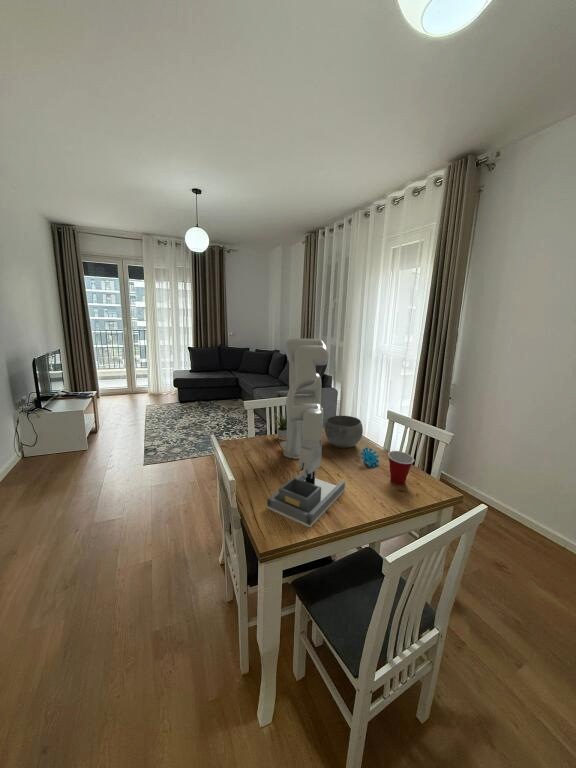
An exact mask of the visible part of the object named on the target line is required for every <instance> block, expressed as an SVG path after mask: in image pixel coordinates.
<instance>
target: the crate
mask: <svg viewBox="0 0 576 768" xmlns="http://www.w3.org/2000/svg"><path fill="white" fill-rule="evenodd" d="M278 491H279V501H281V502H283V503H286V504H288V505H290V506H293V507H295V508H297V509H300V510H302V511H304V512H307V513H310V512H311V511H312V510H313V509H314V508H315V507H316V506H317V505H318V504H319V503H320V502H321V487H319V486H317V485H314V484H311V483H309V482H306V481H303V480H300V479H298V478H296V477H295V476H294V477H293V478H291V479H289V481H286V483H284V484H283V485H282V486H281V487H279V488H278Z"/></svg>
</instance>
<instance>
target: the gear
mask: <svg viewBox="0 0 576 768" xmlns="http://www.w3.org/2000/svg"><path fill="white" fill-rule="evenodd" d="M361 451H362V452H360V455H362V456H361V460H362V461H363V463H364V464H365V465H366V464H367V466H368V467H369V468H370V467H371V468H374V469H375V467H377V466H379V462H380V460H379V457H380V456H381V455H380V454H379V453H378V454H377V452H376V451H375V450H373V448H371V447H370V448H369V447H365V448H363V449H362V450H361ZM371 451H372V452H371ZM376 454H377V455H376Z"/></svg>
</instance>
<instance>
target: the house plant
mask: <svg viewBox="0 0 576 768" xmlns="http://www.w3.org/2000/svg"><path fill="white" fill-rule="evenodd" d="M272 413H273V414H274V415H276V416H272V417H273V418H274V419H275V421H274V423H273V424H275V427H277V428H276V429H277V436H278V437H279V438H282V439H286V438H287V414H286V413H285V412H284V414H283V416H282V415H281V413H280V412H278V415H279V416H278V415H277V413H274V412H272ZM285 414H286V415H285ZM279 438H278V439H279Z"/></svg>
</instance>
